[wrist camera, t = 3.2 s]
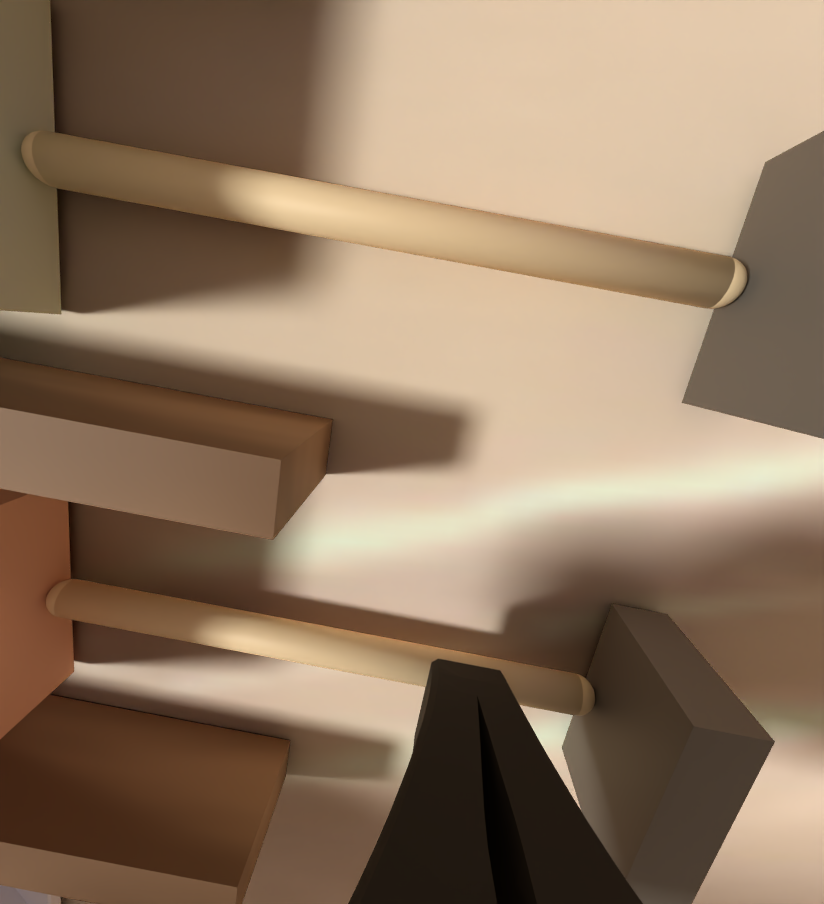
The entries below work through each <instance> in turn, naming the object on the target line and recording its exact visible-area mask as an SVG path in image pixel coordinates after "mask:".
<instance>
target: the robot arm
mask: <svg viewBox="0 0 824 904" xmlns="http://www.w3.org/2000/svg"><path fill="white" fill-rule="evenodd" d="M0 904H61V897H59V896H54V895H49V894H44V893H39V892H33V891H28V890H23V889H18V888H13V887H8V886H2V885H0ZM348 904H643V903H642V901H641V900H640V899H639V897H638V896H637V894H636V893H635V891H634V890H633V889H632V887H631V886H630V884H629V883H628V881H627V880H626V878H625V877H624V876H623V874H622V873H621V871H620V870H619V868H618V867H617V865H616V864H615V862H614V861H613V859H612V858H611V856H610V855H609V853H608V852H607V850H606V849H605V847H604V846H603V844H602V843H601V841H600V839H599V838H598V836H597V835H596V833H595V832H594V830H593V829H592V827H591V826H590V824H589V823H588V821H587V819H586V818H585V816H584V815H583V813H582V812H581V810H580V808H579V807H578V805H577V804H576V802H575V800H574V799H573V797H572V796H571V794H570V792H569V790H568V789H567V787H566V785H565V784H564V782H563V780H562V779H561V777H560V775H559V774H558V772H557V770H556V769H555V767H554V765H553V764H552V762H551V760H550V759H549V757H548V755H547V754H546V752H545V750H544V748H543V747H542V745H541V743H540V741H539V740H538V738H537V736H536V734H535V732H534V731H533V729H532V727H531V725H530V723H529V722H528V720H527V718H526V716H525V714H524V712H523V711H522V709H521V707H520V705H519V703H518V701H517V699H516V698H515V696H514V694H513V692H512V690H511V688H510V686H509V684H508V683H507V681H506V679H505V677H504V675H503V674H502V672H501V671H500V670H496V669H491V668H486V667H480V666H475V665H470V664H465V663H459V662H454V661H449V660H443V659H437V660H435V661H433V662H431V666H430V671H429V675H428V679H427V684H426V688H425V693H424V697H423V701H422V706H421V710H420V714H419V719H418V723H417V728H416V732H415V738H414V747H413V754H412V756H411V759H410V762H409V765H408V767H407V770H406V773H405V775H404V778H403V780H402V783H401V786H400V788H399V791H398V793H397V796H396V798H395V801H394V804H393V806H392V809H391V811H390V814H389V816H388V818H387V821H386V823H385V825H384V828H383V830H382V832H381V835H380V837H379V839H378V841H377V844H376V846H375V848H374V850H373V853H372V855H371V857H370V859H369V861H368V863H367V866H366V868H365V870H364V872H363V874H362V876H361V879H360V881H359V883H358V885H357V887H356V889H355V891H354V893H353V895H352V897H351V899H350V901H349V903H348Z"/></svg>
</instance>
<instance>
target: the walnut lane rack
mask: <svg viewBox="0 0 824 904" xmlns="http://www.w3.org/2000/svg"><path fill="white" fill-rule="evenodd" d="M332 422H333V420H332V419H326V418H321V417H316V416H310V415H305V414H300V413H294V412H289V411H284V410H278V409H273V408H268V407H262V406H257V405H252V404H246V403H241V402H236V401H230V400H225V399H220V398H214V397H209V396H203V395H198V394H193V393H187V392H182V391H177V390H171V389H166V388H161V387H155V386H150V385H145V384H139V383H134V382H129V381H123V380H118V379H113V378H107V377H102V376H97V375H91V374H86V373H80V372H75V371H70V370H64V369H59V368H54V367H48V366H43V365H38V364H32V363H27V362H22V361H16V360H11V359H6V358H0V489H5V490H11V491H16V492H21V493H27V494H32V495H37V496H42V497H48V498H53V499H58V500H64V501H69V502H74V503H80V504H85V505H90V506H96V507H101V508H106V509H111V510H117V511H122V512H127V513H133V514H138V515H143V516H149V517H154V518H159V519H164V520H170V521H175V522H180V523H186V524H191V525H196V526H202V527H207V528H212V529H217V530H223V531H228V532H233V533H239V534H244V535H249V536H255V537H260V538H265V539H271V540H273V539H274V538H275V537H276V536H277V534H278V533H279V532H280V531H281V529H282V528H283V527H284V526H285V524H286V523H287V522H288V521H289V519H290V518H291V517H292V516H293V515H294V513H295V512H296V511H297V510H298V508H299V507H300V506H301V505H302V503H303V502H304V501H305V500H306V499H307V497H308V496H309V495H310V494H311V492H312V491H313V490H314V489H315V487H316V486H317V485H318V484H319V482H320V481H321V480H322V479H323V478H324V476H325V475H326V467H327V460H328V452H329V445H330V437H331V429H332ZM289 747H290V741H289V740H284V739H278V738H273V737H268V736H263V735H257V734H252V733H247V732H242V731H237V730H231V729H226V728H221V727H216V726H210V725H205V724H200V723H195V722H189V721H184V720H179V719H174V718H168V717H163V716H158V715H153V714H147V713H142V712H137V711H132V710H127V709H121V708H116V707H111V706H106V705H100V704H95V703H90V702H85V701H79V700H74V699H69V698H64V697H58V696H53V695H48V696H47V697H46V698H45V699H44V700H43V701H41V702H40V703H39V704H38V705H37V706H36V707H35V708H34V709H33V710H32V711H31V712H30V713H28V714H27V715H26V716H25V717H24V718H23V719H22V720H21V721H20V722H19V723H18V724H16V725H15V726H14V727H13V728H12V729H11V730H10V731H9V732H8V733H7V734H6V735H4V736H3V737H2V738H1V739H0V885H2V886H8V887H13V888H18V889H23V890H28V891H33V892H39V893H44V894H49V895H54V896H59V897H64V898H70V899H75V900H80V901H85V902H90V903H96V904H242V902H243V899H244V896H245V893H246V890H247V888H248V885H249V882H250V879H251V876H252V873H253V870H254V867H255V864H256V861H257V858H258V855H259V852H260V850H261V847H262V844H263V841H264V838H265V835H266V832H267V829H268V826H269V823H270V820H271V817H272V815H273V812H274V809H275V806H276V803H277V800H278V797H279V794H280V791H281V788H282V785H283V782H284V780H285V777H286V769H287V762H288V754H289Z"/></svg>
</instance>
